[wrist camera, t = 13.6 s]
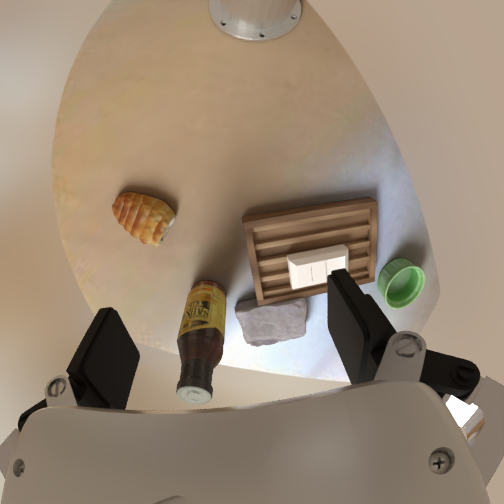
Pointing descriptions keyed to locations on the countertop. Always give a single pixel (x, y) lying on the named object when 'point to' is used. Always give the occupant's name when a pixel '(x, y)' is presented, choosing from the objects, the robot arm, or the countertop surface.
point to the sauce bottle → (201, 341)
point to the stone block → (271, 321)
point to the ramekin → (401, 283)
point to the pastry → (143, 216)
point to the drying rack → (309, 244)
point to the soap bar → (316, 265)
